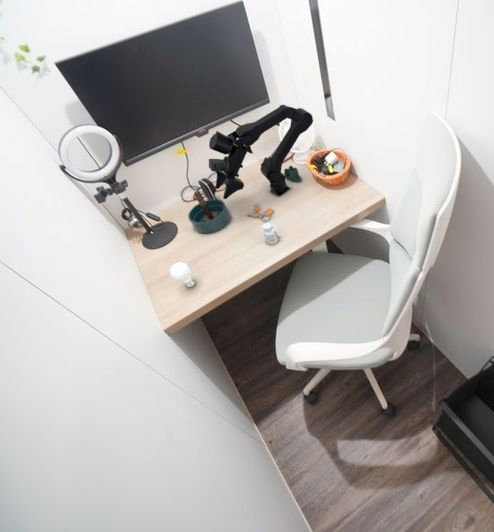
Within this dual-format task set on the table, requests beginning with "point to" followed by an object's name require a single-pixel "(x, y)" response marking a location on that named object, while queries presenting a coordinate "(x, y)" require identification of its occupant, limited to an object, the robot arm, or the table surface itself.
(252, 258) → the table surface
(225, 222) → the bowl
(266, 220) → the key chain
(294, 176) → the dark green lumpy piece
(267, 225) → the pill bottle
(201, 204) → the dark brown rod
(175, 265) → the lightbulb
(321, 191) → the table surface
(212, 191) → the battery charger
